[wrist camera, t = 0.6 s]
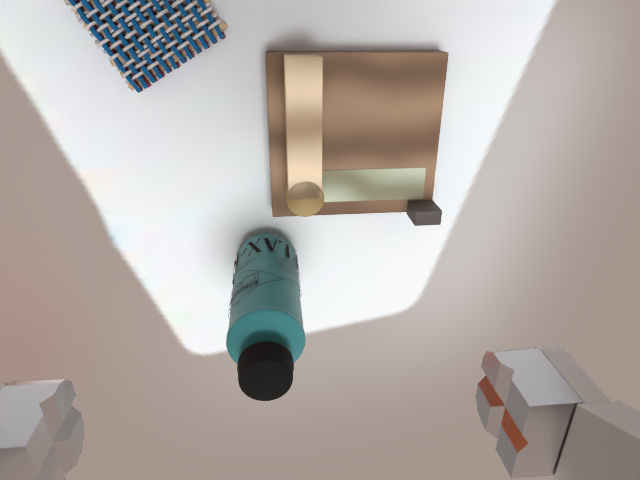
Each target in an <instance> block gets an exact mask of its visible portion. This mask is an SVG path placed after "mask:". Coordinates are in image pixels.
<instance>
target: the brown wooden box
mask: <svg viewBox="0 0 640 480" xmlns="http://www.w3.org/2000/svg"><path fill="white" fill-rule="evenodd" d="M284 54H319V55H321V56H322V57H323V89H322V191H323V194H324V203H323V206H322V208H321V209H320V210H319V211H318V212H317V213H316V214H314V215H335V214H361V213H387V212H407V215H408V216H409V218H410V219H411V221H412V222H413V223H414V225H415V226H418V225H440V223H441V215H442V211H441V209H440V208H439V207H438V206H437V205H436V204H435V203H434V201H433V200H432V196H433V187H434V178H435V169H436V160H437V151H438V142H439V134H440V125H441V116H442V107H443V98H444V89H445V80H446V71H447V62H448V53H447V52H443V51H272V52H266V73H267V96H268V119H269V142H270V165H271V188H272V210H273V217H283V216H298V215H296V214H294V213H293V212H292V211H291V210H290V209H289V207H288V205H287V200H286V191H285V185H286V182H287V159H286V124H285V89H284Z"/></svg>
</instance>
